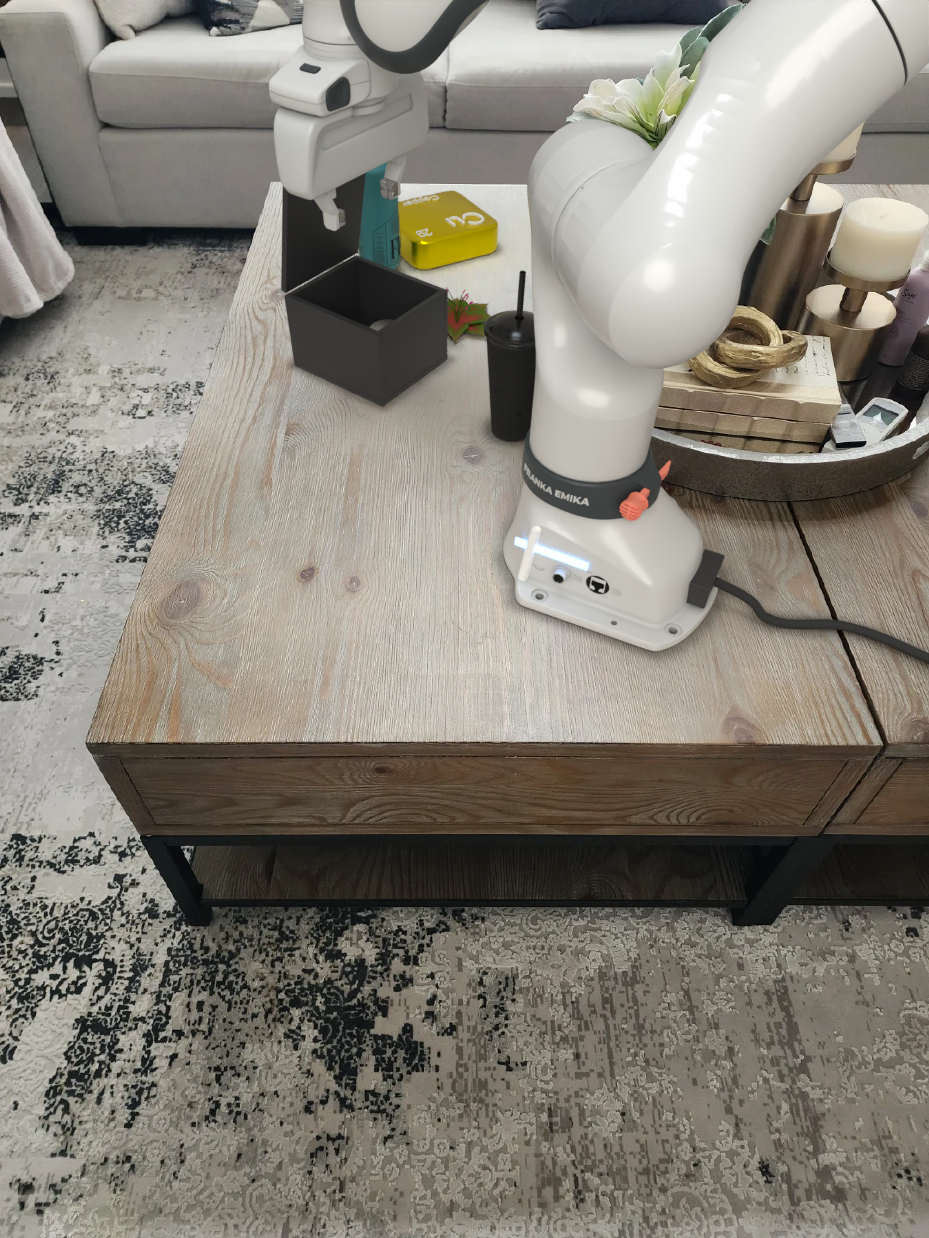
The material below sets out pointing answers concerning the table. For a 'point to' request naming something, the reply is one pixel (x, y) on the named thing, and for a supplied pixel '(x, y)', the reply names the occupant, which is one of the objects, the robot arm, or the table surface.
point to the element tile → (444, 230)
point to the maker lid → (318, 234)
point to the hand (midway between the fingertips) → (363, 212)
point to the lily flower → (465, 317)
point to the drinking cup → (511, 369)
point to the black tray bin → (368, 328)
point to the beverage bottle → (379, 223)
